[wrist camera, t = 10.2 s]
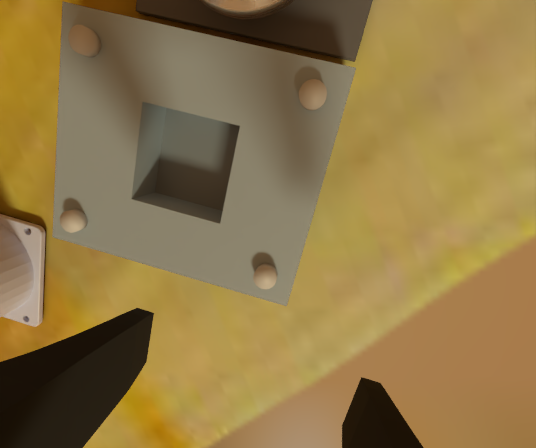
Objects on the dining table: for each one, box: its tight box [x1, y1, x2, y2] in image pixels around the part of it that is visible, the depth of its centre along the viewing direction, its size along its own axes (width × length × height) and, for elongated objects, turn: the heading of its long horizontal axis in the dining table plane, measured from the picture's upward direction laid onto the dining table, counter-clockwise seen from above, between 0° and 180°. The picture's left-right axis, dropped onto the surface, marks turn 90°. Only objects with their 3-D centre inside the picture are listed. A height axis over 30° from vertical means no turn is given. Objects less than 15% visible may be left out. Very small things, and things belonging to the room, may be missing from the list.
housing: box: [53, 2, 356, 306], centre depth 17 cm, size 14×12×4 cm
